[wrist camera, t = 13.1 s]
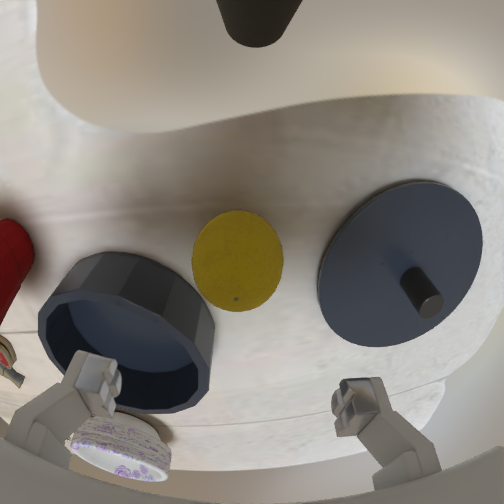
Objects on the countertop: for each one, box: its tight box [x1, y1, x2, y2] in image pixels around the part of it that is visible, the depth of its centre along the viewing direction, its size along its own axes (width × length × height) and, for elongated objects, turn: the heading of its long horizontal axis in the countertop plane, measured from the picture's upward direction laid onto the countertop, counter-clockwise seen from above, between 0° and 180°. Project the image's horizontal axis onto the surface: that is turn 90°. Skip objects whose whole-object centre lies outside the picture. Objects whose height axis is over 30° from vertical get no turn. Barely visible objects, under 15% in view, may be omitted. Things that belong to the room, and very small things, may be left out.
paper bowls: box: [71, 411, 171, 482], centre depth 34 cm, size 15×15×8 cm
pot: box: [38, 252, 215, 414], centre depth 24 cm, size 16×16×5 cm
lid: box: [318, 181, 483, 347], centre depth 22 cm, size 17×17×5 cm
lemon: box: [192, 210, 283, 312], centre depth 18 cm, size 6×6×8 cm
